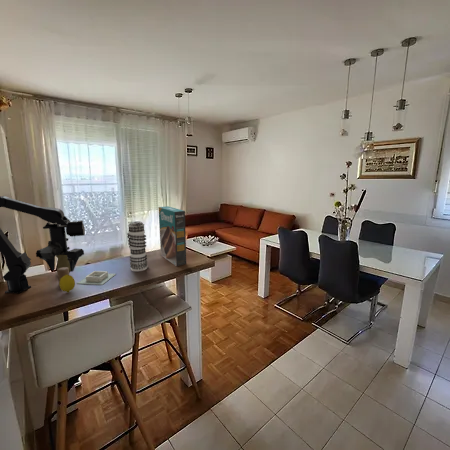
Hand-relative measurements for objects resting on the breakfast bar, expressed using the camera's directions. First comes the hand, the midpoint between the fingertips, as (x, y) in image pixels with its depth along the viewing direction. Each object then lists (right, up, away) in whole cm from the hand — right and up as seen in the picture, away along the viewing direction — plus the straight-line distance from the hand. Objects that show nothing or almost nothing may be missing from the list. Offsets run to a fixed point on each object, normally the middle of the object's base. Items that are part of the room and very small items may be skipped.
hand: (62, 270), depth 112 cm
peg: (0, -6, +1) cm, 6 cm away
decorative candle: (+28, -2, +20) cm, 34 cm away
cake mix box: (+43, 0, +33) cm, 54 cm away
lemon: (+7, -8, -7) cm, 13 cm away
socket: (+13, -5, +6) cm, 15 cm away
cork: (-9, -3, +15) cm, 18 cm away
